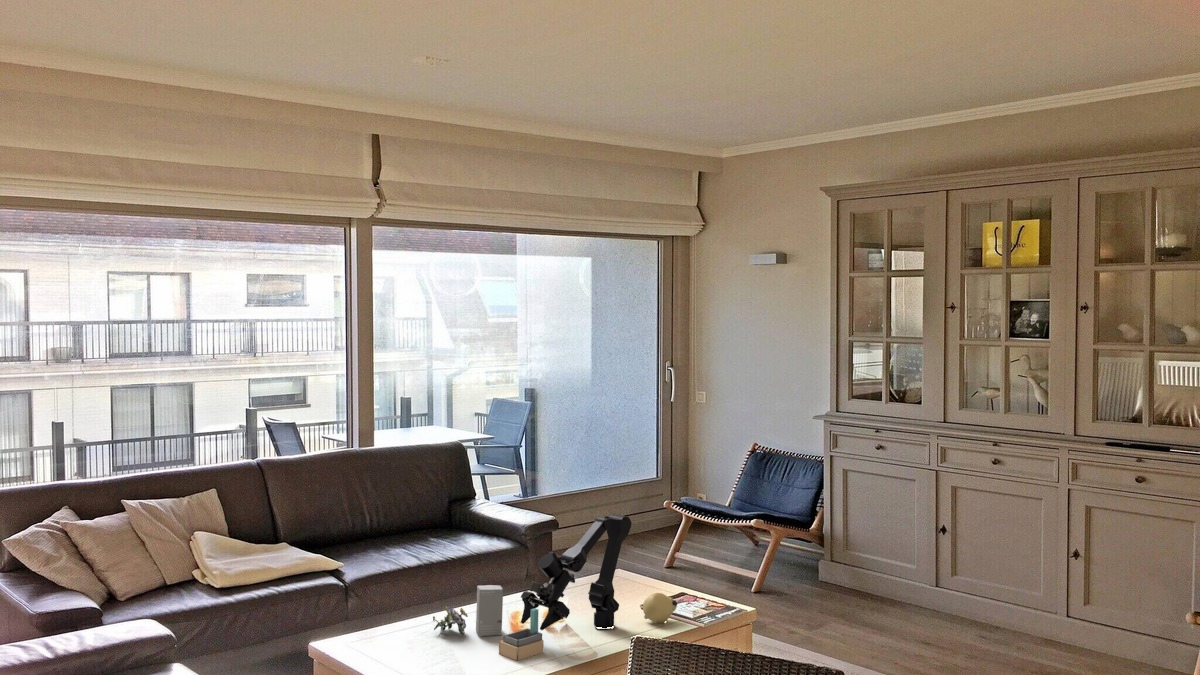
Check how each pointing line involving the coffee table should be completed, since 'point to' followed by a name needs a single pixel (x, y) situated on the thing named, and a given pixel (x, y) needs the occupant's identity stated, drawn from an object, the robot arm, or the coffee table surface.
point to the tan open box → (520, 650)
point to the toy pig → (658, 607)
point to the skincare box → (489, 610)
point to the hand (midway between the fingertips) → (531, 626)
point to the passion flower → (452, 620)
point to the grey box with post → (525, 633)
